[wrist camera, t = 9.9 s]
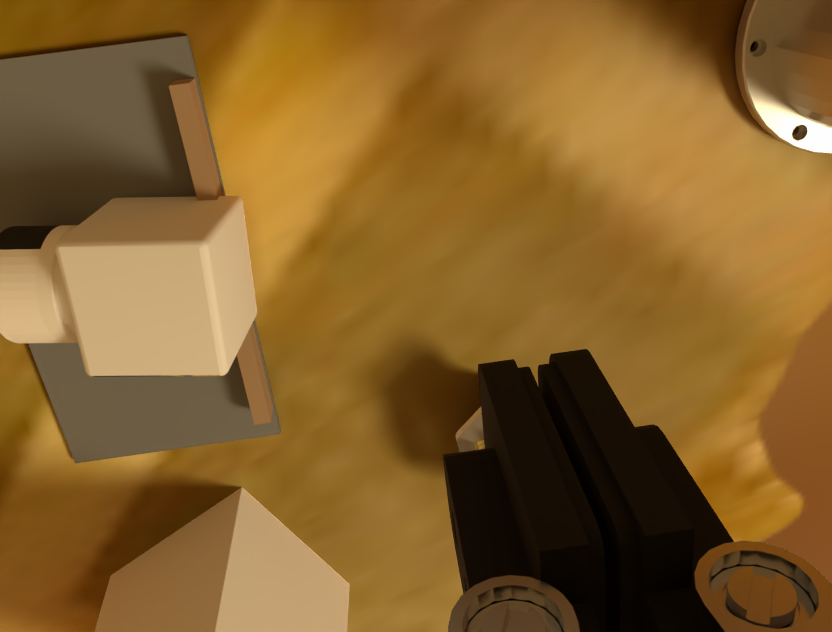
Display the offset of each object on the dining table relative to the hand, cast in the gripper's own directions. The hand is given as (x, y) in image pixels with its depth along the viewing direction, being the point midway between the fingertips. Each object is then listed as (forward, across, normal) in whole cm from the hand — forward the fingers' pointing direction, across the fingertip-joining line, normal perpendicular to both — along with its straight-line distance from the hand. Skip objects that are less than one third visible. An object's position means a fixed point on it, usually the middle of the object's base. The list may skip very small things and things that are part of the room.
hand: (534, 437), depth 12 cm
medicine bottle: (+26, +10, +8) cm, 29 cm away
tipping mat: (+31, +17, +8) cm, 36 cm away
